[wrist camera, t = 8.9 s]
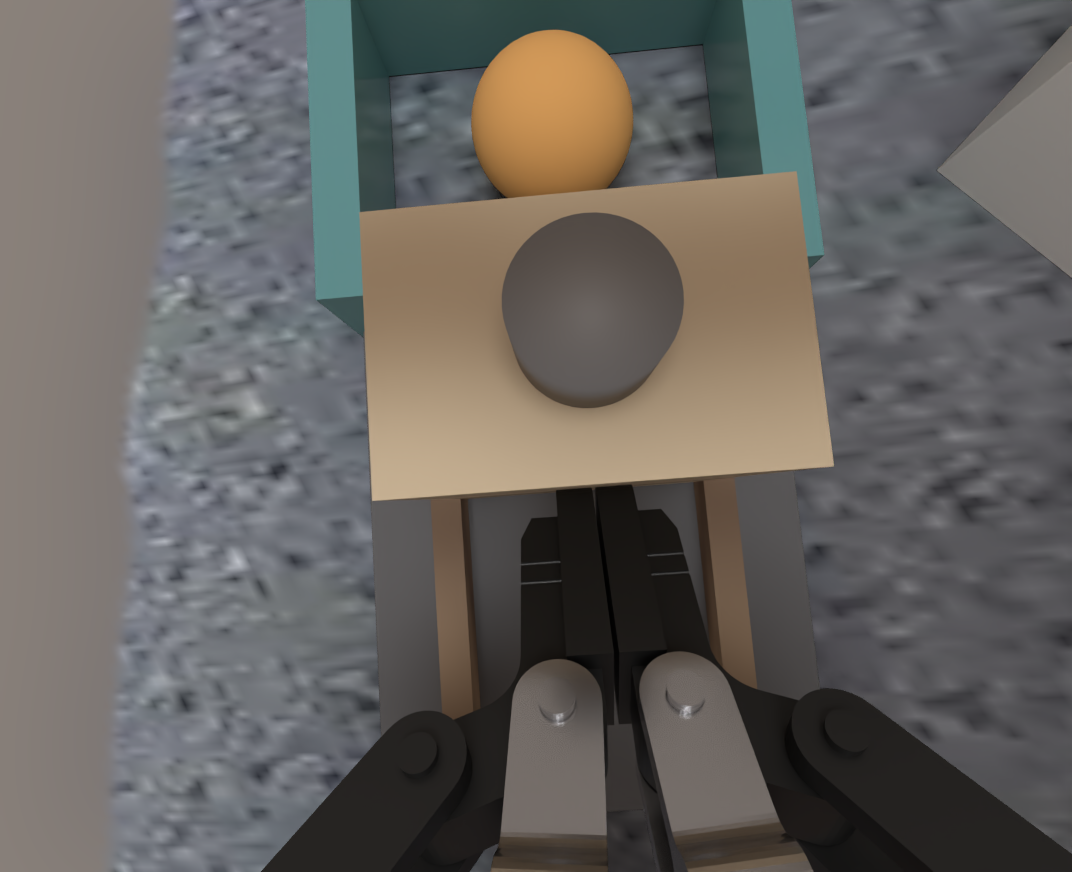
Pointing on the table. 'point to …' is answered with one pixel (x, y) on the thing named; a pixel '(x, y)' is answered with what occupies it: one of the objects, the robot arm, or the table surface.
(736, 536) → the channel
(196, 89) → the table surface
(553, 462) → the tan rectangular block
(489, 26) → the teal u-shaped frame
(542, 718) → the robot arm
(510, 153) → the ball
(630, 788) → the mat
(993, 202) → the milk
